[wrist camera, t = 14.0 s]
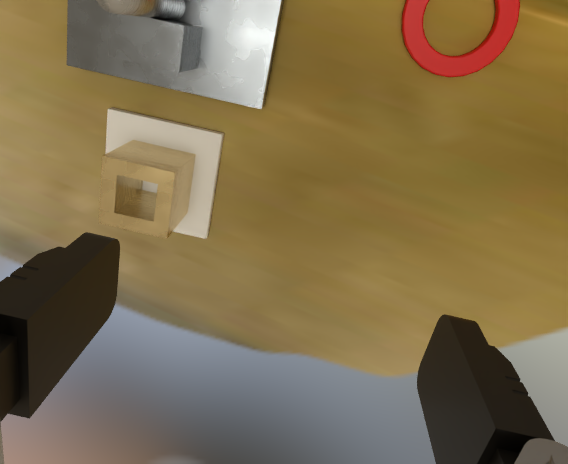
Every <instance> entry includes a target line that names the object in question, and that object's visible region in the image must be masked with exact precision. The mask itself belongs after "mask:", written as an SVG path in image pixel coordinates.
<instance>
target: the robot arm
mask: <svg viewBox="0 0 568 464" xmlns="http://www.w3.org/2000/svg"><path fill="white" fill-rule="evenodd" d="M119 256H120V244H119V241H118V240H117V239H114V238H110V237H106V236H101V235H97V234H92V233H87V232H86V233H84V234H82V235H81V236H80V237H79V238H77V239H76V240H75V241H74V242H72V243H71V244H70V245H69V246H67V247H66V248H63V247H57V248H54V249H51V250H48V251H45V252H42V253H40V254H37V255H36V256H35V257H33V258H32V259H31V260H29V261H28V262H26V263H25V264H24V265H23V267H22V268H21V267H20V268H18V269H17V270H16V271H14V272H13V273H12V274H11V275H10V277H6V278H5V279H4V280H2V281H1V282H0V422H1V421H2V420H3V418H4V417H5V416H6V415H7V414H13V415H17V416H21V417H26V418H30V417H31V416H32V415H33V414H34V412H35V411H36V410H37V408H38V407H39V406H40V405H41V403H42V402H43V401H44V400H45V398H46V397H47V396H48V394H49V393H50V392H51V391H52V389H53V388H54V387H55V386H56V384H57V383H58V382H59V380H60V379H61V378H62V377H63V375H64V374H65V373H66V372H67V370H68V369H69V368H70V367H71V365H72V364H73V363H74V361H75V360H76V359H77V358H78V356H79V355H80V354H81V352H82V351H83V350H84V349H85V347H86V346H87V345H88V344H89V342H90V341H91V340H92V339H93V337H94V336H95V335H96V334H97V332H98V331H99V330H100V328H101V327H102V326H103V325H104V323H105V322H106V321H107V319H108V318H109V316H110V315H111V313H112V310H113V308H114V305H115V301H116V296H117V285H118V270H119ZM417 389H418V394H419V397H420V401H421V405H422V409H423V413H424V417H425V421H426V425H427V429H428V433H429V437H430V441H431V445H432V449H433V453H434V457H435V461H436V464H568V447H567V446H565V445H563V444H560V443H558V442H555V440H554V439H553V437H552V435H551V433H550V431H549V430H548V428H547V426H546V424H545V422H544V421H543V419H542V417H541V415H540V414H539V412H538V410H537V408H536V406H535V405H534V403H533V401H532V399H531V398H530V397H529V396H528V392H527V390H526V389H525V387H524V385H523V383H521V382H520V378H519V376H518V374H517V372H516V371H515V369H514V367H513V365H512V364H511V362H510V361H509V360H508V359H507V358H506V357H505V356H504V355H502V353H501V352H500V351H499V350H498V349H496V348H495V347H494V346H490V345H488V343H487V341H486V339H485V337H484V335H483V333H482V331H481V329H480V327H479V325H478V324H477V322H475V321H472V320H467V319H463V318H458V317H454V316H450V315H442V316H441V317H440V318H439V320H438V322H437V324H436V327H435V329H434V332H433V334H432V337H431V339H430V342H429V344H428V346H427V349H426V351H425V354H424V356H423V359H422V361H421V364H420V367H419V371H418V377H417ZM0 464H4V457H3V446H2V434H1V423H0Z"/></svg>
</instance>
